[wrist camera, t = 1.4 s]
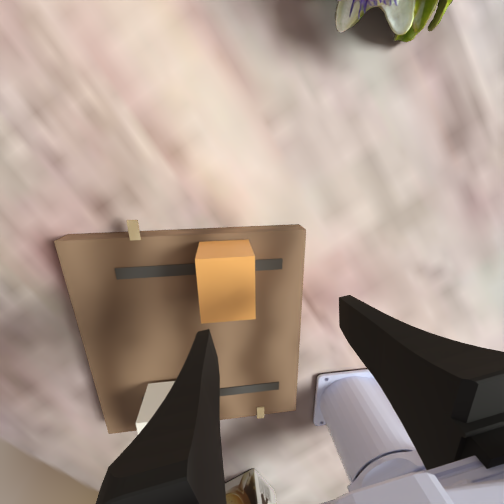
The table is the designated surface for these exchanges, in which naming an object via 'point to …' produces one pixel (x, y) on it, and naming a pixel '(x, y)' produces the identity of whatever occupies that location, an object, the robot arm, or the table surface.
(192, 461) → the robot arm
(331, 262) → the table surface
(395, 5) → the passion flower
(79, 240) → the console
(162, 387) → the white fader
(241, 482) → the coffee box
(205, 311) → the orange fader
